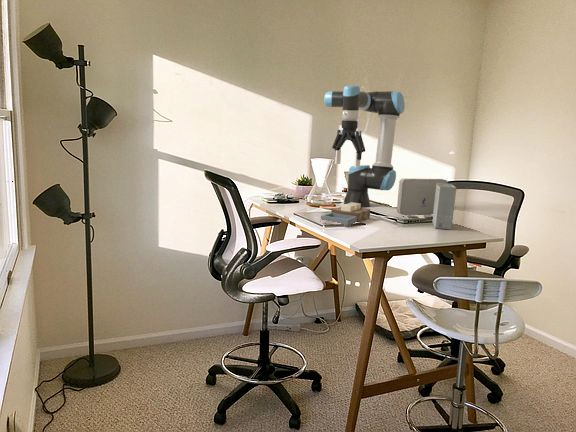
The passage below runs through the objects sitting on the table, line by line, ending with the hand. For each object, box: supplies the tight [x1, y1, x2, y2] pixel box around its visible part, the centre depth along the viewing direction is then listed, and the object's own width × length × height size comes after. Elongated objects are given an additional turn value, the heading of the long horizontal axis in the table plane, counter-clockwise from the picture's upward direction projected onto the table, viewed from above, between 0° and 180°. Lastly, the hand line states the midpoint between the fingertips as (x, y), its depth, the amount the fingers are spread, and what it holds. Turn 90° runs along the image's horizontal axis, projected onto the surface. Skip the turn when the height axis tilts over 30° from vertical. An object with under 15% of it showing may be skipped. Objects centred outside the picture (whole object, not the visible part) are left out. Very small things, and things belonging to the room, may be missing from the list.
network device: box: [396, 178, 449, 217], centre depth 242 cm, size 26×9×20 cm, turn 104°
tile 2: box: [348, 202, 362, 210], centre depth 233 cm, size 5×5×2 cm
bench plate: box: [330, 206, 371, 223], centre depth 231 cm, size 15×14×5 cm
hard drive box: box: [431, 183, 457, 230], centre depth 223 cm, size 16×8×20 cm, turn 168°
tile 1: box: [340, 203, 355, 212], centre depth 227 cm, size 5×5×2 cm
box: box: [320, 212, 357, 228], centre depth 220 cm, size 10×14×4 cm
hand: (347, 165), depth 223 cm, fingers open, 13 cm apart
